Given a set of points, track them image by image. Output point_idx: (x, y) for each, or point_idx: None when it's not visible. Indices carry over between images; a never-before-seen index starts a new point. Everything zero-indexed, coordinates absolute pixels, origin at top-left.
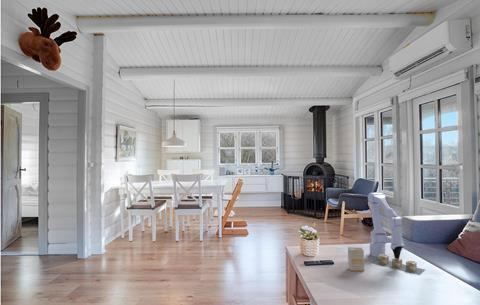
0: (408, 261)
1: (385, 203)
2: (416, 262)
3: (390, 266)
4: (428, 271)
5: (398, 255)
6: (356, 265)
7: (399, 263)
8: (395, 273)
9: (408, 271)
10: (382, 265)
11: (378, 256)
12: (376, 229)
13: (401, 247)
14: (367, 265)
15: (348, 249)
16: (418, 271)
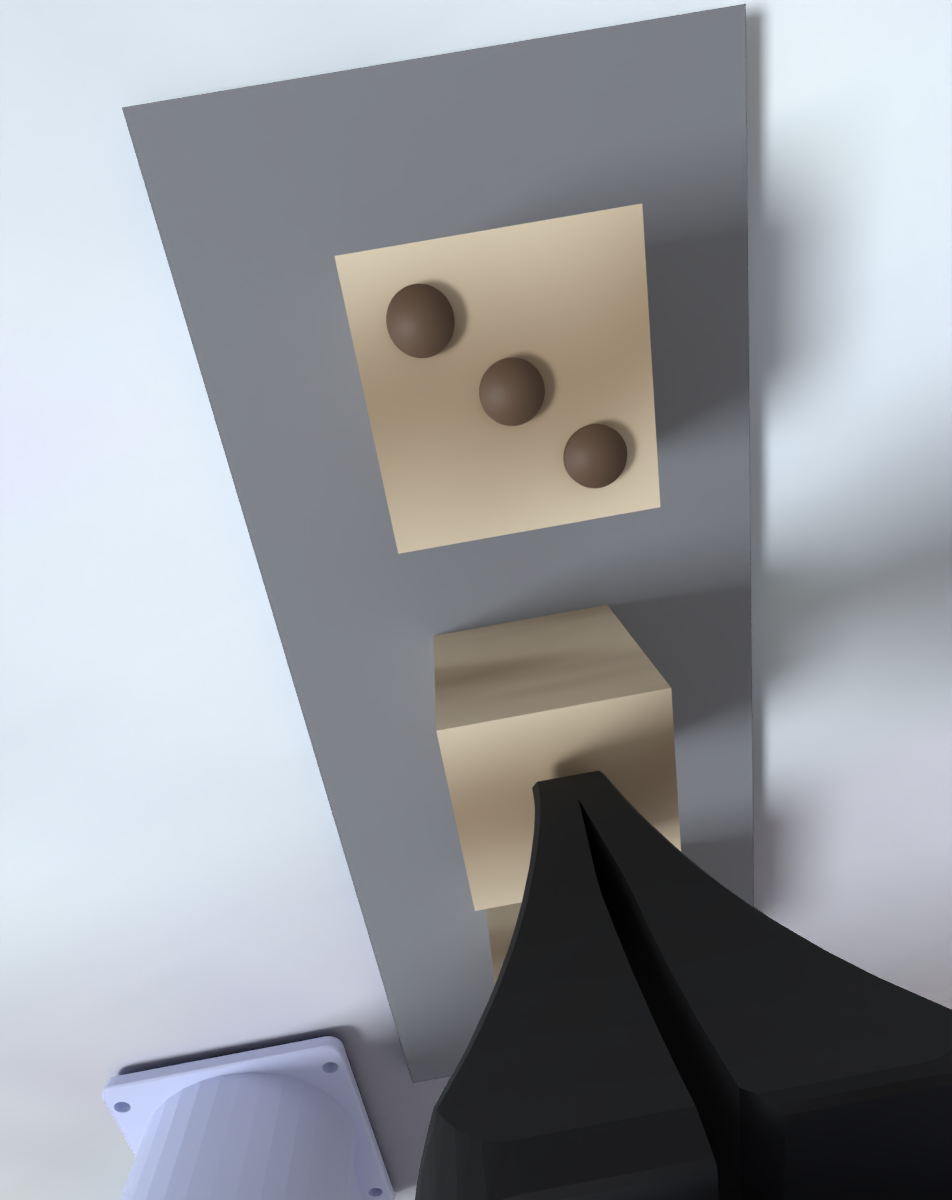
0: (527, 483)
1: None
2: (347, 255)
3: (675, 751)
4: (115, 28)
5: (659, 835)
6: None
7: (642, 651)
8: (945, 505)
9: (686, 357)
10: (744, 852)
11: (344, 1123)
12: None
13: (690, 1185)
14: (875, 973)
15: None
16: (468, 181)
